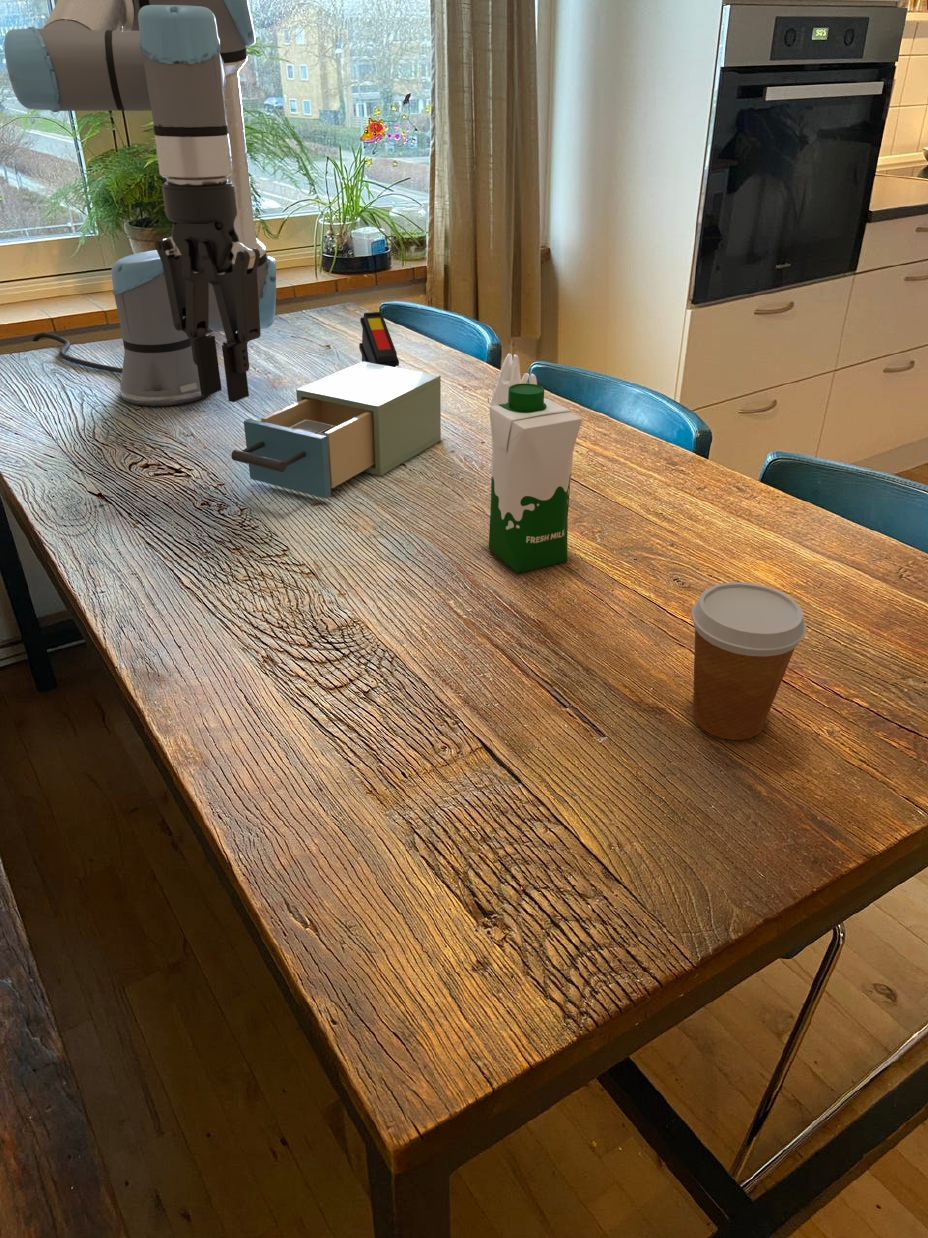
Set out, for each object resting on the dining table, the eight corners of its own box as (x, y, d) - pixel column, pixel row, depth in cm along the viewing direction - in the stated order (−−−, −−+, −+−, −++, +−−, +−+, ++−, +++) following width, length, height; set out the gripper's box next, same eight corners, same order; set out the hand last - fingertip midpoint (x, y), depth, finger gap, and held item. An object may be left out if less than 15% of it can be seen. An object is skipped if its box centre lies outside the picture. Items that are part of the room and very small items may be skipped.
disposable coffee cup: (662, 690, 87) (679, 581, 81) (759, 686, 88) (783, 577, 82) (692, 755, 79) (713, 639, 73) (798, 749, 80) (828, 634, 74)
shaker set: (488, 414, 154) (490, 348, 148) (511, 411, 156) (513, 346, 150) (518, 438, 145) (521, 368, 139) (542, 435, 146) (546, 366, 140)
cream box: (282, 465, 128) (278, 430, 126) (308, 452, 133) (305, 417, 130) (328, 477, 125) (325, 440, 122) (353, 462, 130) (351, 427, 127)
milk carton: (539, 533, 116) (548, 377, 105) (578, 563, 109) (593, 400, 99) (478, 547, 112) (482, 387, 102) (515, 579, 106) (523, 412, 95)
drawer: (298, 514, 118) (293, 452, 113) (221, 493, 123) (213, 433, 119) (390, 461, 133) (388, 405, 129) (318, 444, 139) (314, 390, 134)
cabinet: (380, 476, 131) (378, 406, 126) (301, 456, 137) (295, 389, 132) (440, 440, 144) (440, 375, 138) (365, 424, 150) (362, 361, 144)
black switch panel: (376, 379, 165) (382, 310, 152) (394, 431, 158) (402, 363, 146) (355, 380, 164) (360, 311, 151) (373, 433, 157) (379, 365, 145)
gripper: (281, 181, 96) (300, 398, 109) (166, 171, 103) (195, 376, 116) (233, 188, 91) (258, 416, 103) (114, 177, 98) (151, 392, 110)
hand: (225, 394), depth 109 cm, fingers open, 4 cm apart
